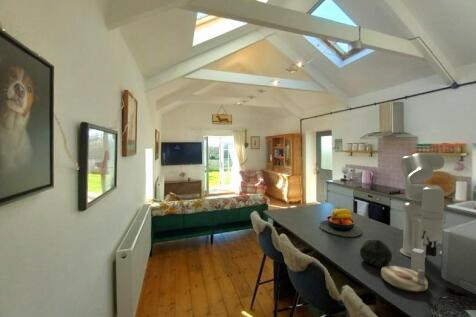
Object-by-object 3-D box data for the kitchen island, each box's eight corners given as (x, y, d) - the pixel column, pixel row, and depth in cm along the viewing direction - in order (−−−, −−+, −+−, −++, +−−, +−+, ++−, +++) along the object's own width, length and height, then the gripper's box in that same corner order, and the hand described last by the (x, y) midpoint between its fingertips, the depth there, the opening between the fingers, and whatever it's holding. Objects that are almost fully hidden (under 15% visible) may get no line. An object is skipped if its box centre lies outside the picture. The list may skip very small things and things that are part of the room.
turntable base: (397, 273, 118) (398, 269, 118) (429, 288, 105) (429, 284, 105) (379, 278, 113) (379, 275, 113) (409, 295, 100) (409, 291, 100)
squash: (364, 244, 140) (362, 231, 131) (393, 252, 130) (393, 238, 122) (359, 266, 132) (356, 253, 124) (390, 276, 123) (389, 263, 114)
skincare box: (420, 277, 114) (421, 253, 113) (410, 273, 118) (410, 250, 117) (425, 273, 117) (425, 250, 117) (414, 269, 121) (415, 247, 121)
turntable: (396, 266, 120) (397, 251, 120) (436, 285, 104) (437, 268, 103) (372, 273, 114) (372, 257, 113) (411, 295, 97) (411, 276, 97)
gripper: (431, 211, 109) (430, 249, 110) (413, 214, 103) (412, 254, 104) (451, 215, 102) (450, 255, 103) (433, 219, 96) (431, 261, 97)
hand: (431, 254), depth 103 cm, fingers closed
